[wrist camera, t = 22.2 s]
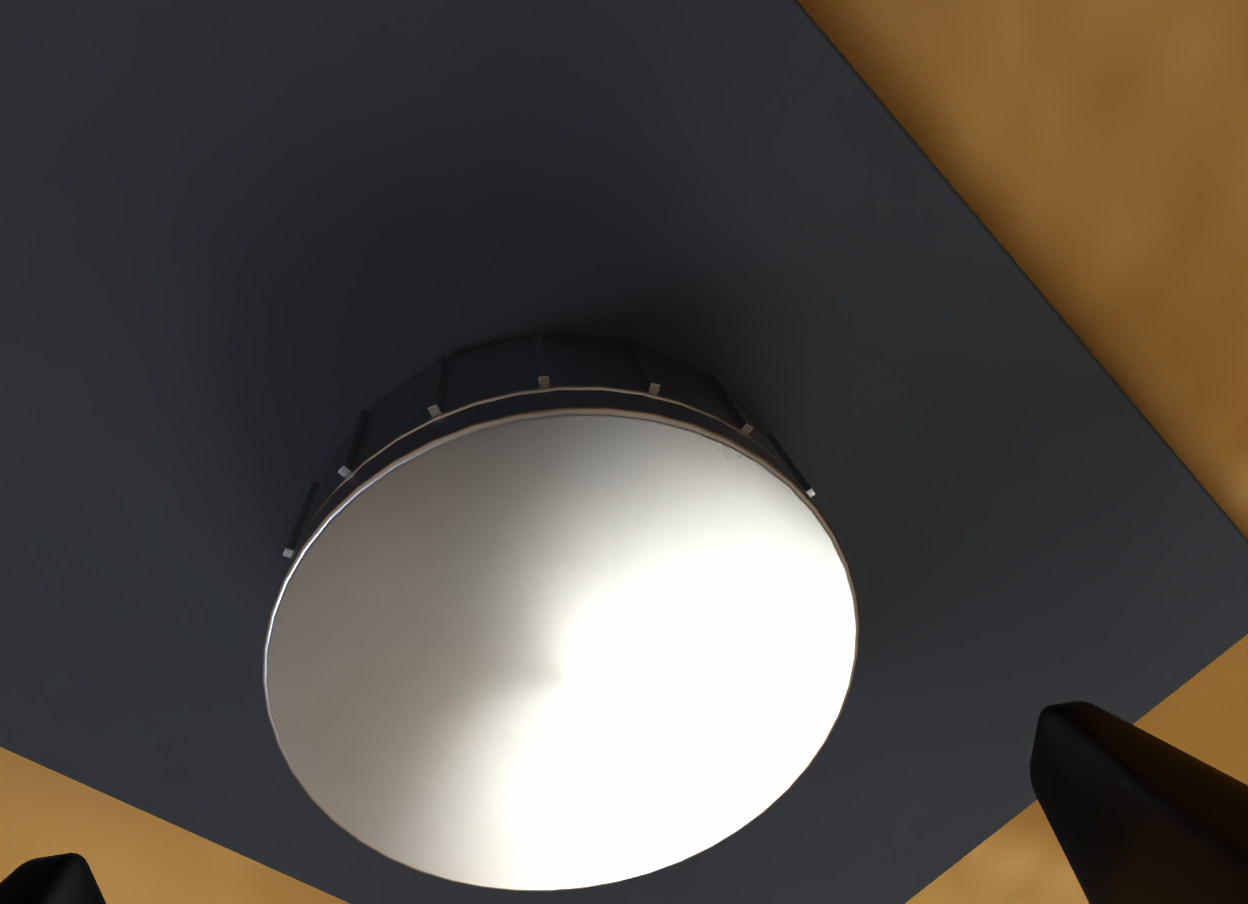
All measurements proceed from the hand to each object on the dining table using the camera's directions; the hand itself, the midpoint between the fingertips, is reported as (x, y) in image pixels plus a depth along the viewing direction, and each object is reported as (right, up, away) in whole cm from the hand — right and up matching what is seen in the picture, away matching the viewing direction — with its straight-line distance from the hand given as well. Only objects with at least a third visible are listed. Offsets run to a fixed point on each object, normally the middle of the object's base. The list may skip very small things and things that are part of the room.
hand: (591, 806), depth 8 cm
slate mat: (-1, +2, +4) cm, 5 cm away
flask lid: (0, +1, +2) cm, 2 cm away
